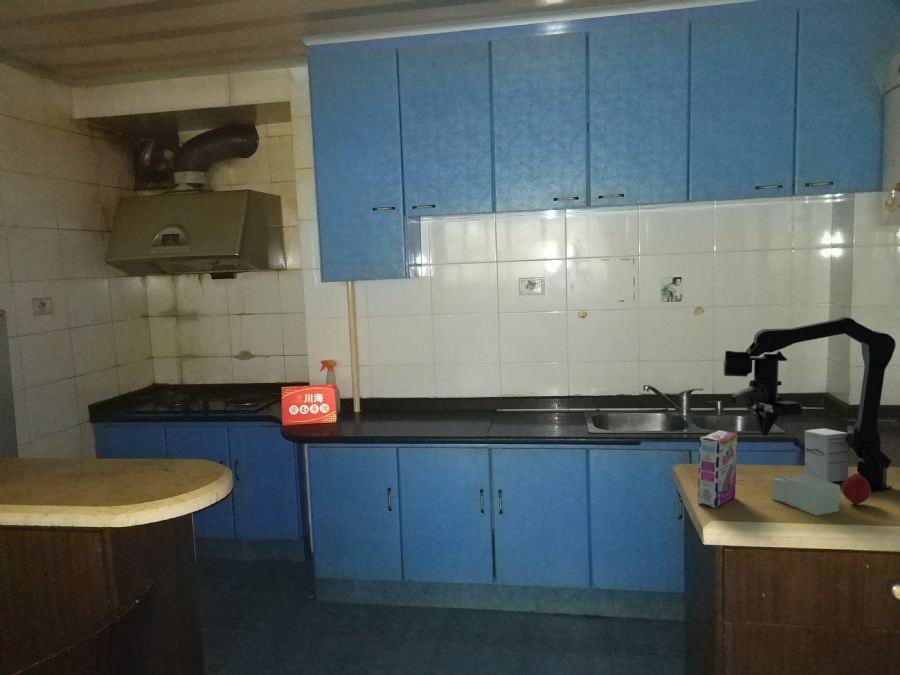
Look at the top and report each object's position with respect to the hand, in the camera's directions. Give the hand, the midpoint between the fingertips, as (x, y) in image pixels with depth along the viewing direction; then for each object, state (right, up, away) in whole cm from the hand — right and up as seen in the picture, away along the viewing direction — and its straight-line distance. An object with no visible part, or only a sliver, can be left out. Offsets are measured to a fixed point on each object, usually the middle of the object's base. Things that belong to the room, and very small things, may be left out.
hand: (764, 435), depth 171 cm
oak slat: (0, -14, -16) cm, 21 cm away
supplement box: (+17, -12, 0) cm, 20 cm away
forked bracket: (+1, -14, -20) cm, 24 cm away
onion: (+12, -14, -19) cm, 27 cm away
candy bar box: (-19, -14, -15) cm, 28 cm away
